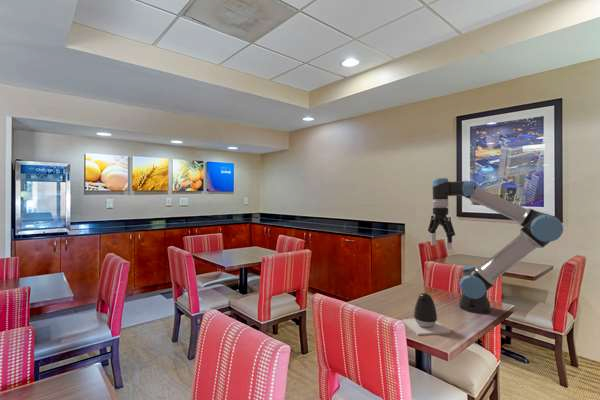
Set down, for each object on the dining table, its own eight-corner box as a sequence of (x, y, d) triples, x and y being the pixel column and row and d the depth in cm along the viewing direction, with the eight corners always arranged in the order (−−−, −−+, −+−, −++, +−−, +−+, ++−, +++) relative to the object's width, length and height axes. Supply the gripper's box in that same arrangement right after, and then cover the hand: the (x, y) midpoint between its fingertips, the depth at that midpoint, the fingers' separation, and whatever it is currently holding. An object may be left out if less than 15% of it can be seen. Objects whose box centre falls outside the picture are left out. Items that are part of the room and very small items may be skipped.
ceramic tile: (431, 319, 160) (431, 317, 160) (450, 332, 144) (450, 331, 144) (401, 321, 158) (401, 319, 158) (417, 335, 142) (417, 333, 142)
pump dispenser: (410, 326, 150) (410, 294, 150) (418, 319, 158) (418, 288, 158) (433, 331, 143) (433, 298, 143) (439, 324, 151) (439, 292, 151)
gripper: (421, 206, 181) (421, 243, 181) (448, 208, 156) (449, 251, 157) (433, 206, 182) (433, 243, 183) (462, 207, 158) (462, 250, 158)
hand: (440, 246), depth 170 cm, fingers open, 13 cm apart
